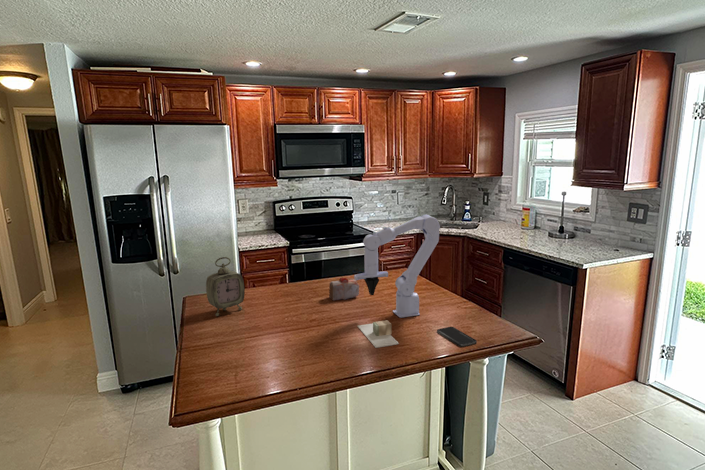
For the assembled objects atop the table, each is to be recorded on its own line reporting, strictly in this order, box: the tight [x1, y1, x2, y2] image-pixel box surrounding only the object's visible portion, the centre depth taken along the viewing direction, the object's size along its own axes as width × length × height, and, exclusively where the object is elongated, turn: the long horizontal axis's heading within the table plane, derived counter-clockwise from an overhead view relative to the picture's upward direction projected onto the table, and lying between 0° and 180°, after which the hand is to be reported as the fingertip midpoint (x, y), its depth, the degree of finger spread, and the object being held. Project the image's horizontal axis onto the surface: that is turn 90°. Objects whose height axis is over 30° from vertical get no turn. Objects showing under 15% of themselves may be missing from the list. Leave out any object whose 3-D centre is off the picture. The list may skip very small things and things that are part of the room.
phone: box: [436, 326, 478, 348], centre depth 153 cm, size 8×1×15 cm
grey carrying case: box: [328, 277, 360, 301], centre depth 198 cm, size 14×8×10 cm, turn 112°
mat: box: [357, 322, 400, 349], centre depth 156 cm, size 9×20×1 cm, turn 18°
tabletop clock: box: [205, 256, 246, 317], centre depth 180 cm, size 14×9×25 cm, turn 131°
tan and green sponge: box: [372, 319, 392, 336], centre depth 156 cm, size 4×4×6 cm
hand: (371, 294), depth 173 cm, fingers closed
